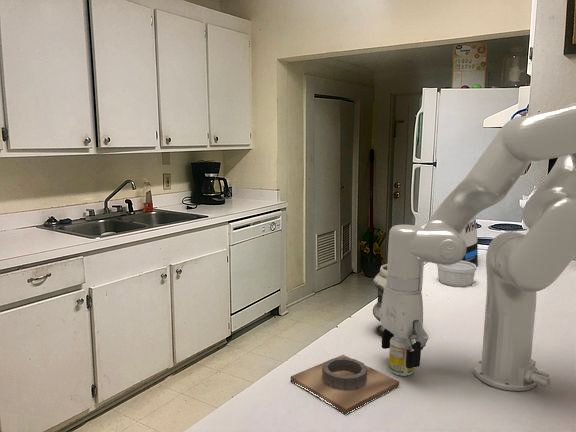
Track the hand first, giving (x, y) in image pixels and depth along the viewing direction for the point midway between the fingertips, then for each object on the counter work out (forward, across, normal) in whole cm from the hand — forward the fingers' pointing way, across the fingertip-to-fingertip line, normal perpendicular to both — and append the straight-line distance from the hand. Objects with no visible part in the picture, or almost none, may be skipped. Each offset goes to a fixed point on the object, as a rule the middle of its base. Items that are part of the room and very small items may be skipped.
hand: (399, 356), depth 104 cm
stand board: (+3, +1, -14) cm, 15 cm away
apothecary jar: (+3, -18, +11) cm, 22 cm away
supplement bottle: (+3, 0, 0) cm, 3 cm away
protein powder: (+3, -69, +76) cm, 102 cm away
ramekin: (+3, -50, +56) cm, 75 cm away
